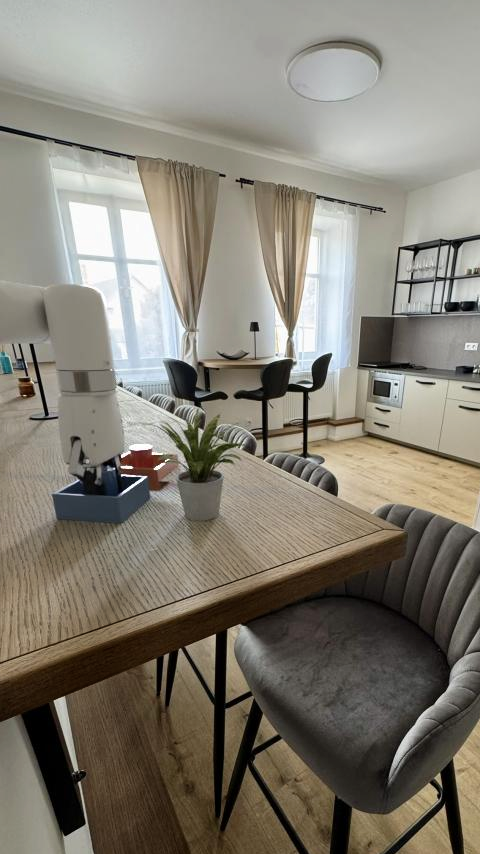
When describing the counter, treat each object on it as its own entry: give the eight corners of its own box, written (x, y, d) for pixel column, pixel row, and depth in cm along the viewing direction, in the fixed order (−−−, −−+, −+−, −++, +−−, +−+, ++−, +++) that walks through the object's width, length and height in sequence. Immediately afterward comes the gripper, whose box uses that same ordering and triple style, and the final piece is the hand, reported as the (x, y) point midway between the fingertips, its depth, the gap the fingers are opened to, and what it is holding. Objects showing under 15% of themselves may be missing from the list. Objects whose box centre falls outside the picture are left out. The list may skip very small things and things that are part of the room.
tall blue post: (87, 509, 64) (81, 472, 61) (101, 499, 67) (95, 464, 65) (112, 510, 63) (107, 473, 61) (124, 501, 67) (120, 466, 65)
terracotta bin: (105, 487, 74) (101, 466, 73) (130, 470, 84) (128, 451, 82) (159, 490, 73) (157, 469, 72) (179, 473, 83) (177, 454, 81)
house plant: (161, 546, 54) (149, 422, 48) (137, 509, 65) (125, 405, 59) (258, 524, 61) (257, 413, 55) (221, 494, 72) (217, 399, 66)
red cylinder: (129, 480, 77) (125, 449, 74) (138, 474, 80) (135, 443, 78) (149, 481, 76) (146, 450, 74) (158, 475, 80) (155, 444, 78)
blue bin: (56, 518, 61) (51, 493, 60) (93, 495, 71) (90, 472, 69) (121, 523, 60) (118, 498, 59) (150, 498, 70) (148, 476, 68)
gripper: (94, 377, 66) (110, 483, 73) (22, 388, 51) (50, 522, 58) (139, 378, 66) (150, 486, 72) (78, 390, 50) (100, 526, 57)
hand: (105, 501), depth 65 cm, fingers closed on tall blue post, 4 cm apart
